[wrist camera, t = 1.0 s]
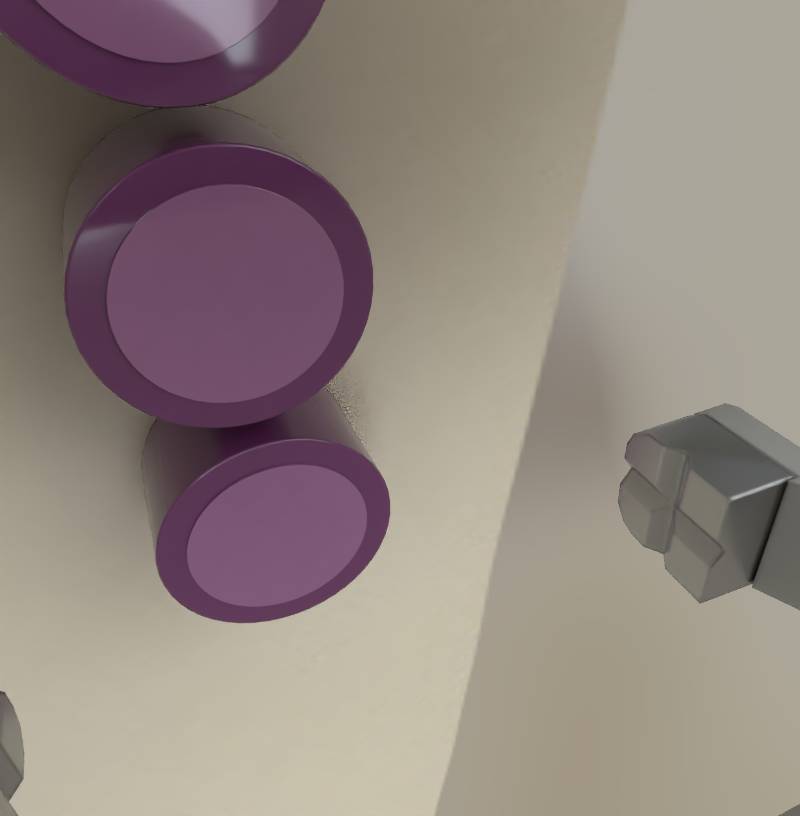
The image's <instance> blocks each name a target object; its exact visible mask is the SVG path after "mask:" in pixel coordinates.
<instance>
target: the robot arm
mask: <svg viewBox="0 0 800 816" xmlns="http://www.w3.org/2000/svg"><path fill="white" fill-rule="evenodd" d="M625 459H626V461H627V462H628V463H629V465H630V466H631V467H632V468H631V469H630V470H629V472H628V473H627V475H626V476H625V477H624V479H623V480H622V482H621V483H620V489H619V498H618V504H619V507H620V510H621V514H622V518H623V521H624V522H625V524H626V526H627V527H628V529H629V531H630V532H631V534H632V535H633V536H634V537H635V538H636V539H637V540H638V541H639V542H640V543H641V544H642V545H643V546H644V547H646V548H649V549H652V550H655V551H657V552H660V553H662V554H664V561H665V569H666V570H667V571H668V572H669V573H670V574H671V575H672V576H673V577H674V578H675V579H676V580H677V581H678V582H679V583H680V584H681V585H682V586H683V587H684V588H685V589H686V590H687V591H688V592H689V593H690V594H691V595H692V596H693V597H694V598H695V599H696V600H697V601H698V602H699V603H702V602H705V601H708V600H711V599H713V598H716V597H719V596H721V595H724V594H726V593H729V592H731V591H734V590H737V589H740V588H742V587H745V586H748V585H750V584H753V586H752V588H755V589H757V590H759V591H761V592H763V593H765V594H767V595H769V596H771V597H774V598H776V599H778V600H780V601H782V602H784V603H786V604H788V605H790V606H792V607H795V608H797V609H799V610H800V447H798V446H797V445H795V444H794V443H792V442H791V441H789V440H788V439H786V438H785V437H783V436H782V435H780V434H779V433H777V432H775V431H774V430H773V429H771V428H770V427H768V426H767V425H765V424H763V423H762V422H760V421H759V420H757V419H756V418H754V417H753V416H751V415H750V414H748V413H747V412H745V411H744V410H742V409H741V408H739V407H737V406H733V405H729V404H723V405H719V406H717V407H713V408H711V409H707V410H704V411H701V412H698V413H696V414H694V415H691V416H687V417H683V418H680V419H677V420H674V421H671V422H668V423H665V424H662V425H659V426H656V427H653V428H650V429H647V430H644V431H641V432H638V433H635V434H633V436H632V437H631V439H630V440H629V442H628V443H627V447H626V452H625ZM23 779H24V748H23V741H22V735H21V728H20V724H19V721H18V718H17V715H16V713H15V710H14V707H13V705H12V704H11V702H10V700H9V699H8V697H7V695H6V694H5V692H2V691H0V816H18V814H17V813H16V811H15V810H14V809H13V807H12V806H11V804H10V803H9V800H10V799H11V797H12V796H13V794H14V793H15V791H16V790H17V788H18V786H19V785H20V783H21V782H22V780H23ZM779 816H800V804H799V805H797V806H795V807H793V808H791V809H790V810H788V811H786V812H784V813H782V814H780V815H779Z"/></svg>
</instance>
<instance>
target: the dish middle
mask: <svg viewBox="0 0 800 816" xmlns="http://www.w3.org/2000/svg"><path fill="white" fill-rule="evenodd" d="M62 234H63V280H64V301H65V309H66V316H67V320H68V323H69V327H70V330H71V334H72V336H73V339H74V341H75V343H76V345H77V347H78V350H79V352H80V354H81V355H82V357H83V358H84V360H85V361H86V363H87V364H88V366H89V368H90V369H91V370H92V371H93V372H94V374H95V375H96V376H97V377H98V378H99V379H100V381H101V382H102V383H103V384H104V385H105V386H107V387H108V388H109V389H110V390H111V391H112V392H113V393H114V394H116V395H117V396H118V397H120V398H121V399H123V400H124V401H126V402H127V403H129V404H130V405H131V406H133V407H135V408H137V409H139V410H141V411H143V412H145V413H147V414H149V415H151V416H154V417H157V418H159V419H162V420H165V421H168V422H172V423H176V424H181V425H185V426H193V427H201V428H226V427H236V426H242V425H247V424H252V423H257V422H260V421H263V420H266V419H269V418H272V417H275V416H277V415H280V414H282V413H284V412H286V411H289V410H291V409H292V408H294V407H296V406H298V405H299V404H301V403H303V402H305V401H306V400H307V399H309V398H310V397H312V396H313V395H314V394H316V393H317V392H318V391H320V390H321V389H322V388H323V387H324V386H325V385H326V384H327V383H328V382H330V381H331V380H332V379H333V377H334V376H335V375H336V374H337V373H338V372H339V371H340V370H341V368H342V367H343V366H344V365H345V363H346V362H347V360H348V359H349V357H350V356H351V354H352V353H353V351H354V349H355V348H356V346H357V344H358V342H359V340H360V338H361V336H362V333H363V331H364V328H365V326H366V323H367V319H368V316H369V312H370V308H371V302H372V294H373V267H372V260H371V253H370V249H369V246H368V242H367V239H366V236H365V233H364V231H363V229H362V226H361V224H360V222H359V220H358V218H357V216H356V215H355V213H354V211H353V210H352V208H351V207H350V205H349V203H348V202H347V201H346V200H345V199H344V197H343V196H342V195H341V194H340V193H339V191H338V190H337V189H336V188H335V187H334V186H333V185H332V184H331V183H329V182H328V181H327V180H326V179H325V178H324V177H323V176H322V175H321V174H320V173H319V172H317V171H316V170H315V169H314V168H313V167H312V166H311V165H310V164H308V163H307V162H306V161H305V160H304V159H303V158H302V157H301V156H299V155H298V154H297V153H296V152H295V151H294V150H293V149H292V148H291V147H289V146H288V145H287V144H286V143H285V142H284V141H283V140H282V139H280V138H279V137H278V136H277V135H276V134H274V133H273V132H271V131H270V130H268V129H267V128H266V127H264V126H263V125H261V124H259V123H257V122H255V121H253V120H251V119H249V118H247V117H245V116H242V115H239V114H236V113H234V112H231V111H227V110H223V109H218V108H213V107H204V106H193V107H180V108H164V109H159V110H155V111H152V112H149V113H146V114H143V115H140V116H138V117H135V118H134V119H132V120H130V121H128V122H126V123H124V124H122V125H120V126H119V127H117V128H116V129H115V130H113V131H112V132H111V133H109V134H108V135H106V136H105V137H104V138H103V139H102V140H101V141H100V142H99V143H98V144H97V145H96V146H95V147H94V148H93V149H92V150H91V151H90V153H89V154H88V155H87V157H86V158H85V159H84V161H83V162H82V163H81V165H80V167H79V169H78V171H77V172H76V174H75V176H74V178H73V180H72V183H71V185H70V188H69V191H68V194H67V197H66V202H65V207H64V212H63V231H62Z"/></svg>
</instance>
